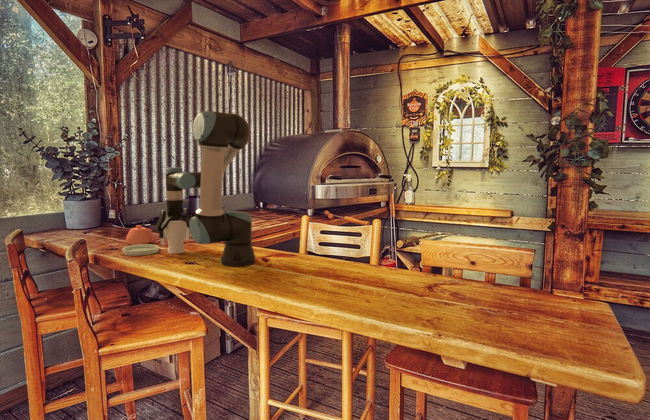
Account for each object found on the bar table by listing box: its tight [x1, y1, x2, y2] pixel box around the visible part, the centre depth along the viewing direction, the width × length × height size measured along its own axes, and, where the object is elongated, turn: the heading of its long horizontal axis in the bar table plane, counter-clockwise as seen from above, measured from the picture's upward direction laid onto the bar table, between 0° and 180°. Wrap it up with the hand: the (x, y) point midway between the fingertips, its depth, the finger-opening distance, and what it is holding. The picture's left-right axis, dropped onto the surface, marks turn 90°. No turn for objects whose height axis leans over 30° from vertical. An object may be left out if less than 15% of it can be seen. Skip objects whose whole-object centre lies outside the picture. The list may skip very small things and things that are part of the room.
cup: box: [164, 220, 187, 255], centre depth 192 cm, size 11×11×15 cm
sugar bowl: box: [125, 224, 155, 246], centre depth 209 cm, size 12×14×10 cm
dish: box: [121, 243, 160, 257], centre depth 192 cm, size 16×16×2 cm
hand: (175, 242), depth 193 cm, fingers open, 13 cm apart
